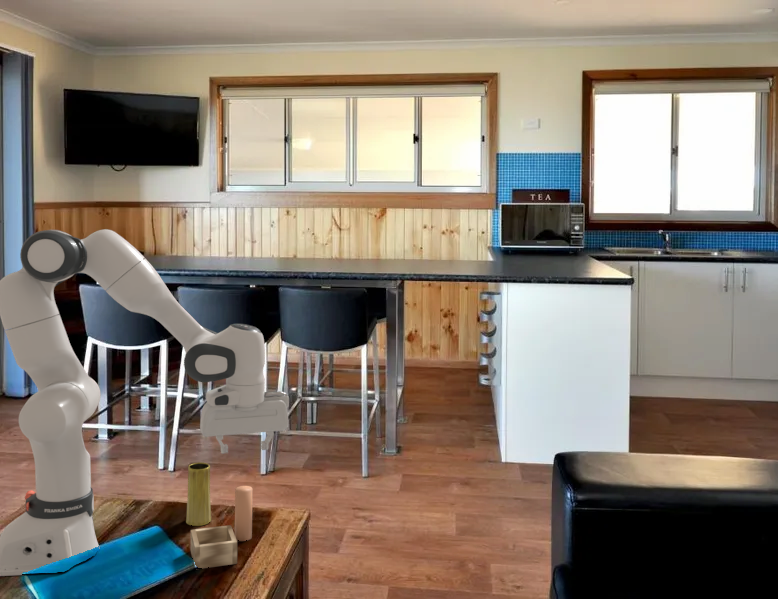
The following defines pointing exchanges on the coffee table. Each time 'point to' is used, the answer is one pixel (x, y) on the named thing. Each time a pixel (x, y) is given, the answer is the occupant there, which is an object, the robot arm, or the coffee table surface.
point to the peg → (243, 513)
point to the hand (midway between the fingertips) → (244, 451)
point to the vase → (198, 494)
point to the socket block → (213, 546)
